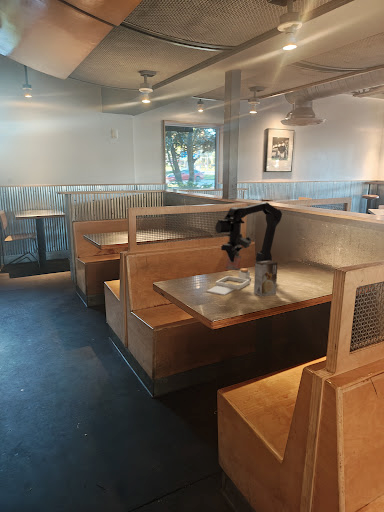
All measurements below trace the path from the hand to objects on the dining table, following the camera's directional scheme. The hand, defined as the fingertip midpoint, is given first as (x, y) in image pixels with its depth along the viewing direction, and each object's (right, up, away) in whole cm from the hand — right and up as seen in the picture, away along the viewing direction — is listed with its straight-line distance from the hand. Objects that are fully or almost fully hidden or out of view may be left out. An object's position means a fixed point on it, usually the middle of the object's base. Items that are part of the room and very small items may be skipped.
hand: (233, 261), depth 191 cm
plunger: (+7, -9, +12) cm, 16 cm away
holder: (+2, -12, +6) cm, 13 cm away
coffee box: (+14, -16, -12) cm, 24 cm away
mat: (-8, -15, -9) cm, 19 cm away
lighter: (0, -4, 0) cm, 4 cm away
